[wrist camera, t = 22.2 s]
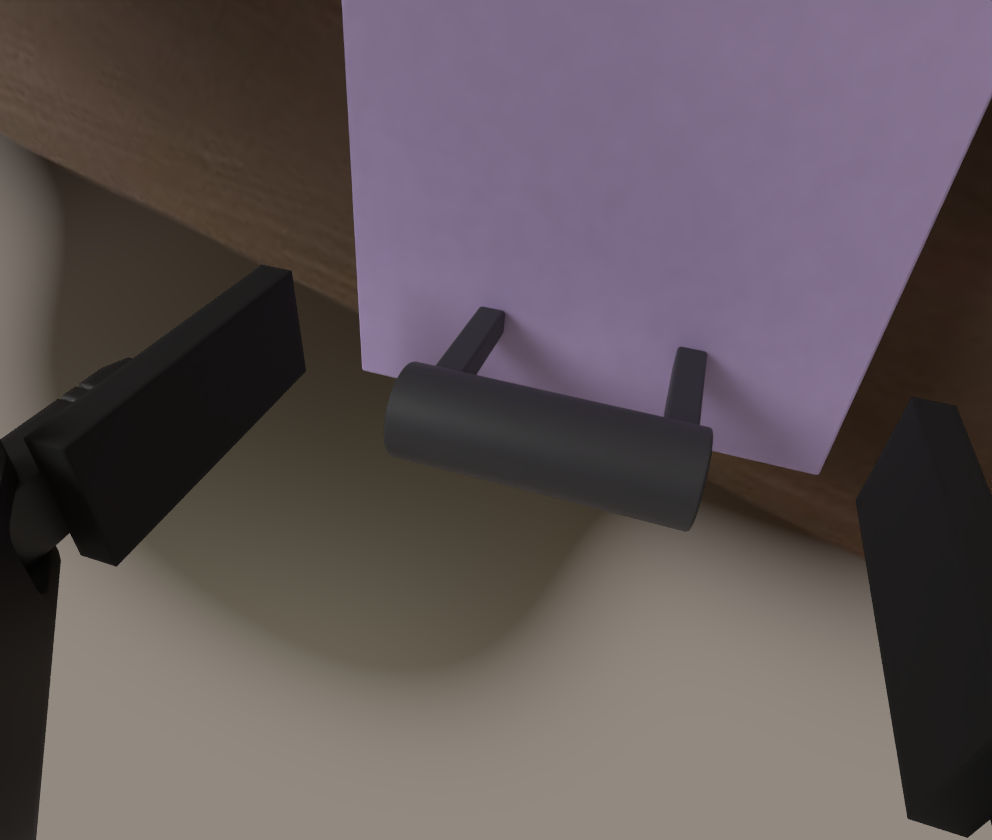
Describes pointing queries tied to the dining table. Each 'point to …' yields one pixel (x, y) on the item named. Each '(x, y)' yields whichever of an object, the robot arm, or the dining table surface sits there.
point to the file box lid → (643, 225)
